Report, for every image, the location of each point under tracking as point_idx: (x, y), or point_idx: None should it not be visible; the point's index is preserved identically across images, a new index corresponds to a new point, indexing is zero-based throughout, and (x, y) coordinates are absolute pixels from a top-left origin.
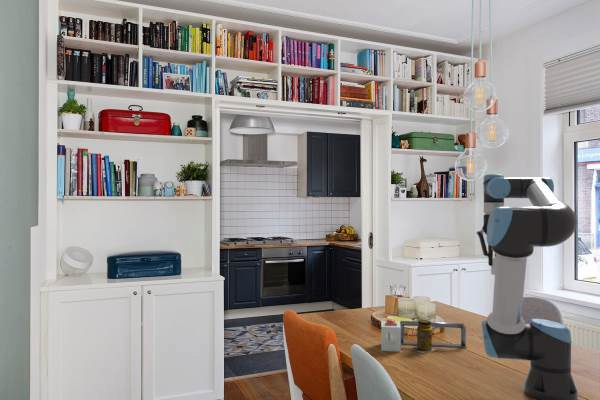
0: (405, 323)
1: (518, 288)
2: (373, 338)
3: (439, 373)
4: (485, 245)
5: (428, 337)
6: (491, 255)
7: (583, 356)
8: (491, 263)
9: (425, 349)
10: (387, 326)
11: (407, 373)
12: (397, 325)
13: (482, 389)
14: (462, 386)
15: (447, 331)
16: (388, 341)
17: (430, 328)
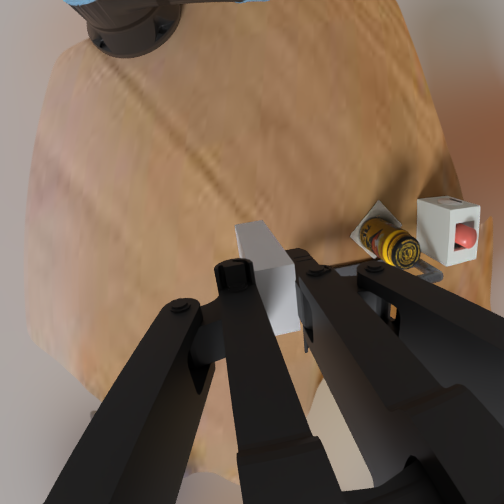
0: (432, 273)
1: None
2: (452, 275)
3: (345, 71)
4: (447, 316)
5: (381, 228)
6: (317, 272)
7: (40, 295)
8: (290, 256)
9: (374, 218)
10: (471, 212)
11: (399, 64)
12: (454, 229)
13: (263, 3)
14: (300, 10)
15: (309, 383)
16: (449, 198)
17: (387, 242)
